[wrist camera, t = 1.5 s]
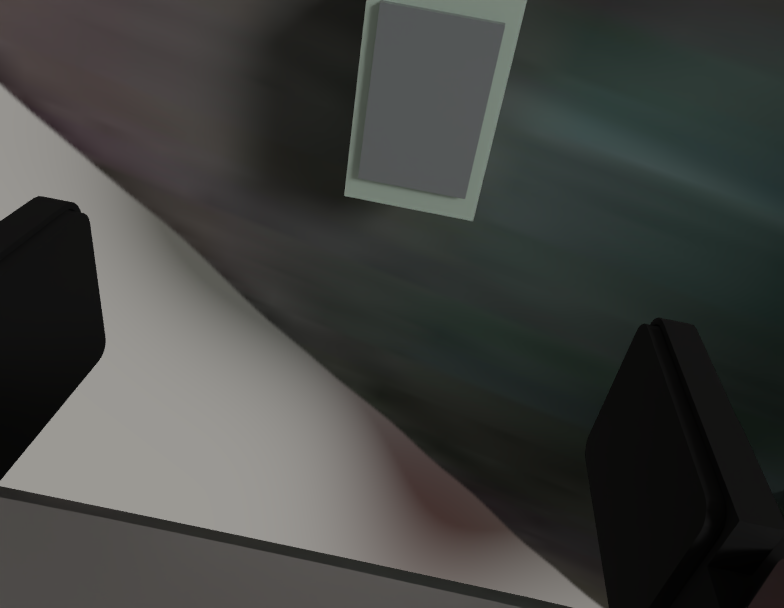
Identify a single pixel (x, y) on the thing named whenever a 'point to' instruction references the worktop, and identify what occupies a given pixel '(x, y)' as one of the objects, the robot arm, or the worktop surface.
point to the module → (429, 101)
